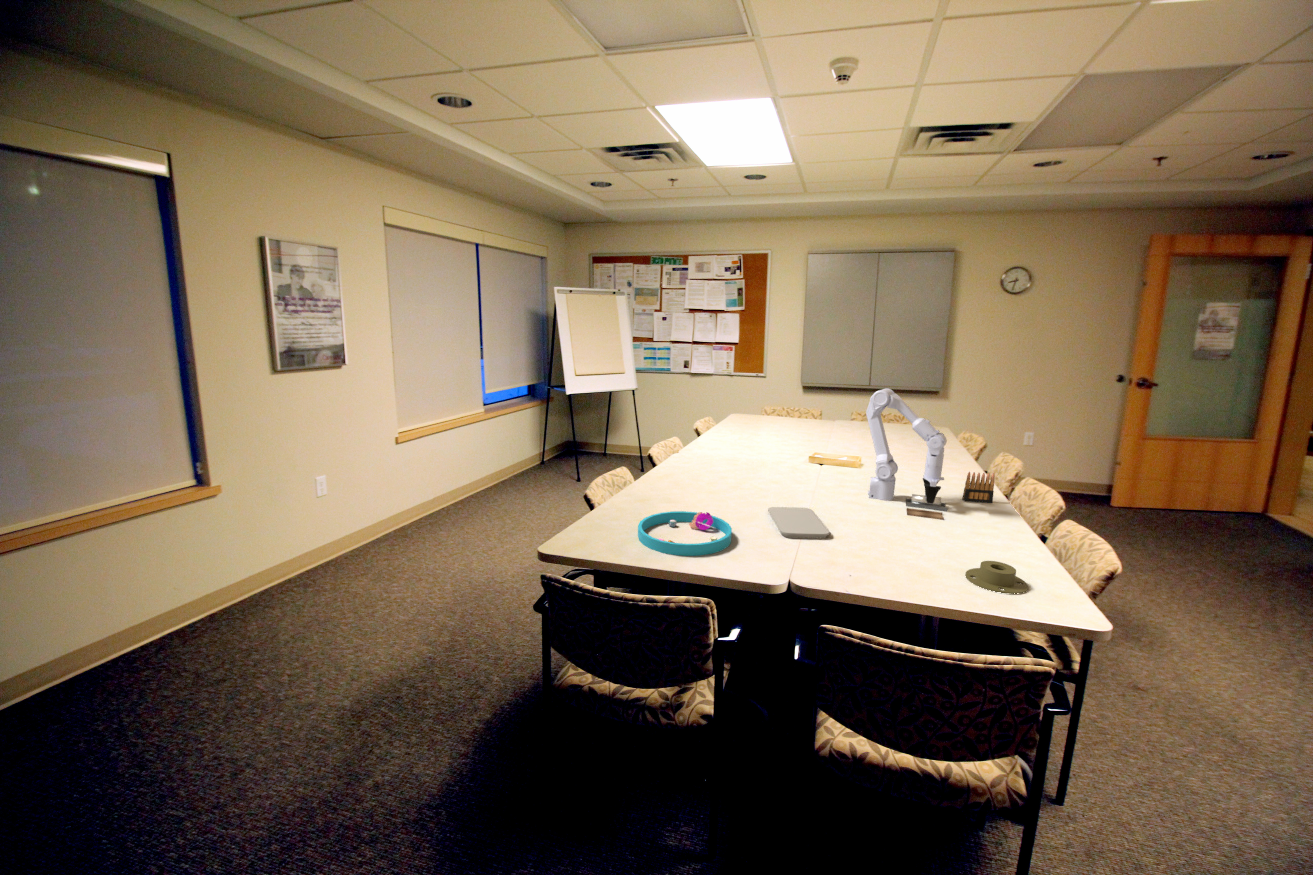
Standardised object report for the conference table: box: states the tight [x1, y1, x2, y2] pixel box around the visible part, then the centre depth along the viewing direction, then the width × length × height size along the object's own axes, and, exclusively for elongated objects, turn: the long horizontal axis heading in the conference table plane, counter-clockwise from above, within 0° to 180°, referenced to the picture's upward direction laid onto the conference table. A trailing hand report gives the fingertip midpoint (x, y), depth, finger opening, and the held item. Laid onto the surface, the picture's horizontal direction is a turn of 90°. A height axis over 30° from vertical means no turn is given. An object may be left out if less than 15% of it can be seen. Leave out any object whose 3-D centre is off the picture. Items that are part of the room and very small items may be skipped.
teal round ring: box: [637, 510, 733, 557], centre depth 184 cm, size 30×30×6 cm
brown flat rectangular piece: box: [905, 507, 945, 521], centre depth 209 cm, size 12×7×2 cm, turn 69°
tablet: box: [767, 506, 830, 540], centre depth 198 cm, size 16×26×2 cm, turn 0°
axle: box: [910, 493, 942, 507], centre depth 218 cm, size 10×4×4 cm, turn 69°
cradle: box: [905, 497, 948, 512], centre depth 219 cm, size 14×7×2 cm, turn 69°
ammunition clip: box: [961, 471, 995, 504], centre depth 228 cm, size 11×2×12 cm, turn 80°
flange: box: [965, 560, 1029, 595], centre depth 158 cm, size 5×15×15 cm
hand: (929, 500), depth 218 cm, fingers open, 7 cm apart
